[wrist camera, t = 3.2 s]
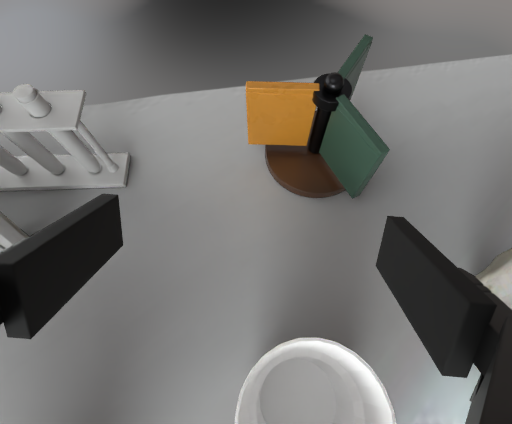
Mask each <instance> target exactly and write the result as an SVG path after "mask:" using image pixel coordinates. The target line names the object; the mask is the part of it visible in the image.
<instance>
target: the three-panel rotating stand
mask: <svg viewBox="0 0 512 424" xmlns="http://www.w3.org/2000/svg"><path fill="white" fill-rule="evenodd" d="M372 39H373V37H371V36H368V35H364V37H363V38H362V39H361V41H360V42H359V43H358V45H357V47H356V48H355V49H354V50H353V52H352V53H351V55H350V56H349V57H348V59H347V60H346V62H345V63H344V64H343V66H342V67H341V69H340V70H339V71H338V73H331V74H324V75H321V76H320V77H318V78H317V79H316V80H315V82H314V83H294V82H256V81H254V82H253V81H247V82H246V103H247V123H248V142H249V144H263V145H295V146H307V142H308V138H309V134H310V130H311V125H312V121H313V117H314V113H315V109H316V106H317V107H318V108H317V112H316V116H315V120H314V124H313V128H312V132H311V136H310V140H309V144H308V149H309V151H310V152H311V153H314V154H318V153H320V154H321V156H322V157H323V158H324V160H325V161H326V163H327V164H328V165H329V167H330V168H331V170H332V171H333V172H334V174H335V175H336V177H337V178H338V179H339V181H340V182H341V184H342V185H343V186H344V188H345V189H346V191H347V192H348V193H349V195H350V196H351V198H352V199H353V198H355V197H357V196H359V195H360V194H361V192H362V191H363V189H364V188H365V186H366V185H367V183H368V182H369V180H370V179H371V177H372V176H373V174H374V173H375V171H376V170H377V168H378V167H379V165H380V164H381V162H382V161H383V159H384V158H385V156H386V155H387V153H388V151H389V150H390V149H389V148H388V147H387V145H386V144H385V143H384V142H383V141H382V139H381V138H380V137H379V136H378V135H377V133H376V132H375V131H374V130H373V129H372V127H371V126H370V125H369V124H368V123H367V121H366V120H365V119H364V118H363V116H362V115H361V114H360V113H359V112H358V110H357V109H356V108H355V107H354V106H353V104H352V103H351V102H350V100H351V97H352V94H353V91H354V89H355V86H356V83H357V81H358V78H359V75H360V73H361V70H362V67H363V65H364V62H365V59H366V57H367V53H368V51H369V49H370V46H371V43H372Z"/></svg>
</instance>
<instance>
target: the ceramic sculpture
mask: <svg viewBox="0 0 512 424" xmlns="http://www.w3.org/2000/svg"><path fill="white" fill-rule="evenodd" d="M475 277H476V278H477V279H478V280H479V281H481V282H482V283H483V284H484V286H486V287H487V288H488V289H489V290H491V291H492V292H491V293H494V294H495V295H496V296H497V297H498V298H499V299H501V300H502V301H503V302H504V303H505V304H506V305H507V306H508V307H509V308H511V309H512V248H511V249H509V250H507V251H505V252H503V253H501V254H499V255H498V256H497V257H496V258H495V259H494V260H493V262H492V263H491V264H490V265H489V266H488V267H487V268H486V269H485V270H483V271H482V272H481V273H479V274H477V275H476V276H475Z"/></svg>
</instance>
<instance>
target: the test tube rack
mask: <svg viewBox="0 0 512 424" xmlns="http://www.w3.org/2000/svg"><path fill="white" fill-rule="evenodd" d="M85 96H86V92H85V90H69V91H38V90H37V89H35V88H33V87H32V86H31V85H29V84H23V85H20V86H18V87H16V88H15V89H14V91H13V92H8V93H7V92H6V93H0V105H1V106H2V108H1V106H0V132H1V133H2V134H3V135H5V136H6V137H7V138H8V139H9V140H11V141H12V142H13V143H14V144H16V145H17V146H18V147H19V148H20V149H22V150H23V151H24V152H25V153H26V154H28V155H29V156H13V155H12V154H11V153H10V152H8V151H7V150H6V149H4V148H3V147H2V146H1V145H0V191H19V190H50V189H81V188H112V187H126V183H127V176H128V169H129V163H130V155H129V153H106V152H105V151H104V150H103V148H102V147H101V146H100V145H99V143H98V142H97V141H96V140H95V138H94V137H93V136H92V135H91V133H90V132H89V131H88V130H87V128H86V127H85V126H84V124H83V123H82V122H81V121H80V117H81V113H82V109H83V105H84V101H85ZM49 104H50V105H51V106H52V107H51V106H50V105H49ZM32 116H33V117H34V118H33V117H32ZM72 130H77V131H78V132H79V133H80V134H81V135H82V136H83V138H84V139H85V140H86V141H87V142H88V144H89V145H90V146H91V147H92V148H93V149H94V151H95V152H96V153H97V154H92V153H91V152H90V151H89V149H88V148H87V147H86V146H85V145H84V144H83V143H82V141H81V140H80V139H79V138H78V137H77V136H76V135H75V133H74V132H73V131H72ZM32 131H48V132H49V133H50V134H51V135H52V136H53V137H54V138H55V139H56V140H57V141H58V142H59V143H60V144H61V145H62V146H63V147H64V148H65V149H66V150H67V151H68V152H69V153H70V154H69V155H53V154H52V153H51V152H50V151H48V150H47V149H46V148H45V147H44V146H43V145H42V144H41V143H40V142H39V141H38V140H37V139H35V138H34V137H33V136H32V135H31V134H30V133H29V132H32Z"/></svg>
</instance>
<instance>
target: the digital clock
mask: <svg viewBox="0 0 512 424" xmlns="http://www.w3.org/2000/svg"><path fill="white" fill-rule="evenodd" d="M28 237H29V236H28V235H27V234H25V233H24V232H23V231H22V230H21V229H20V228H19V227H17V226H16V225H15V224H14V223H13V222H12V221H11V220H9V219H8V218H7V217H6V216H5V215H4V214H3V213H2V212H0V253H1V251H3V250H4V249H6V248H10V246H11V245H13V244H15V243H16V242H18V241H20V240H22V239H25V238H28Z"/></svg>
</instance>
